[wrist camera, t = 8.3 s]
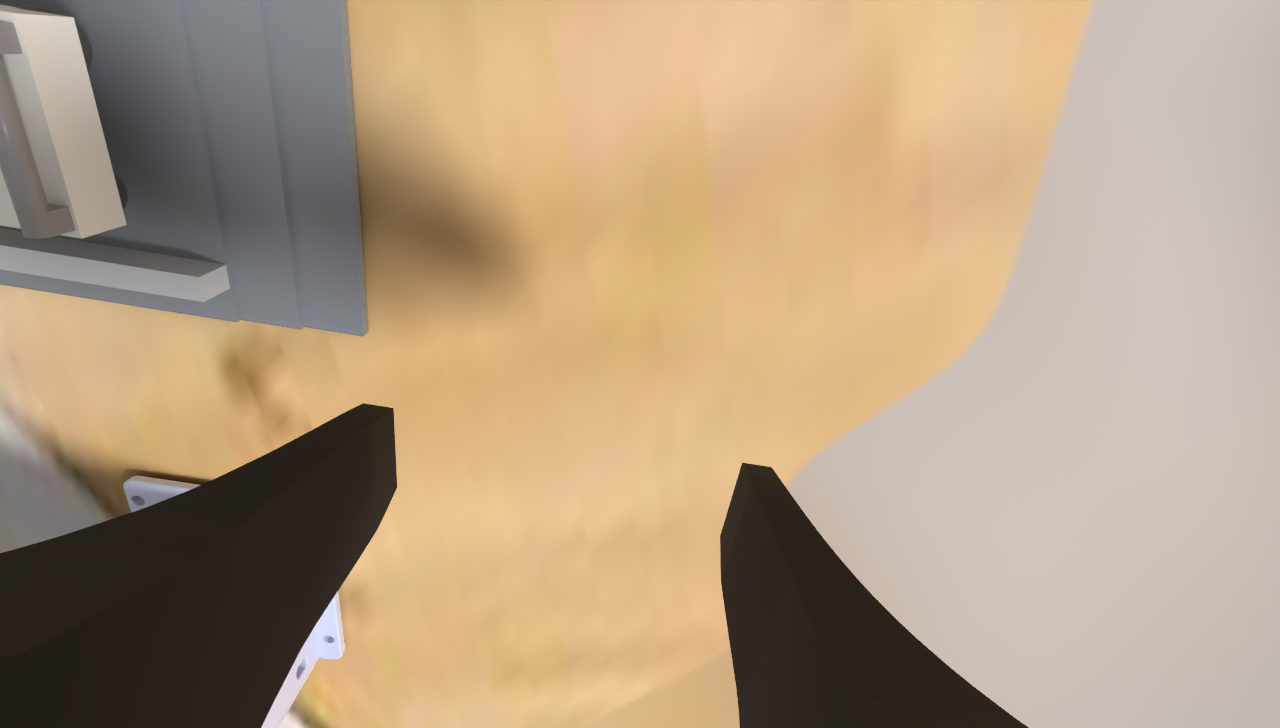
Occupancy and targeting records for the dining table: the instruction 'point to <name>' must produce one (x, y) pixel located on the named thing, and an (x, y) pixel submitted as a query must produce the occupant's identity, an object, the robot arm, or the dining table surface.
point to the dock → (218, 164)
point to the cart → (52, 131)
